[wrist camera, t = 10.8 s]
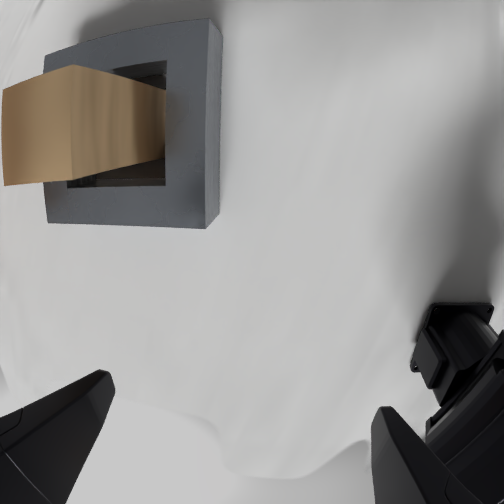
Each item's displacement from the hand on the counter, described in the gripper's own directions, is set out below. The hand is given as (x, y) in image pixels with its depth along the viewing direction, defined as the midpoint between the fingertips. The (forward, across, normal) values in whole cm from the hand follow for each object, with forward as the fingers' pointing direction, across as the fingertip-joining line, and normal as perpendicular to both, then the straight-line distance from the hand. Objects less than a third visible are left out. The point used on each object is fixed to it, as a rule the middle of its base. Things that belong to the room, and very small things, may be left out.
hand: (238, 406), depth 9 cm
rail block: (+12, +9, -9) cm, 18 cm away
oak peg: (+12, +9, -9) cm, 18 cm away
